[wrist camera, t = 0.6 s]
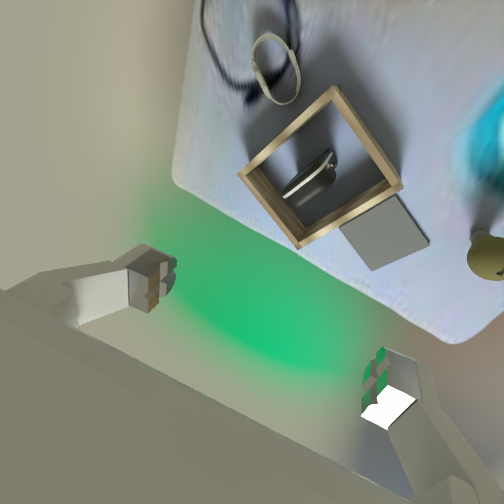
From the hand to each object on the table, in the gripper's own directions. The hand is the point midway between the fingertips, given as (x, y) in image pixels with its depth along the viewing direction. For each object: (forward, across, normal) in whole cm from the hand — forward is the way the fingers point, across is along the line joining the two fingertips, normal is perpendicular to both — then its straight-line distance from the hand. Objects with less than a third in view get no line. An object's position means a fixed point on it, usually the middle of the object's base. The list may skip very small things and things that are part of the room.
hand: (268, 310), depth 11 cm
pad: (+40, -11, +12) cm, 43 cm away
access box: (+40, +3, +5) cm, 40 cm away
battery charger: (+40, +3, +5) cm, 40 cm away
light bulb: (+40, -23, +7) cm, 46 cm away
